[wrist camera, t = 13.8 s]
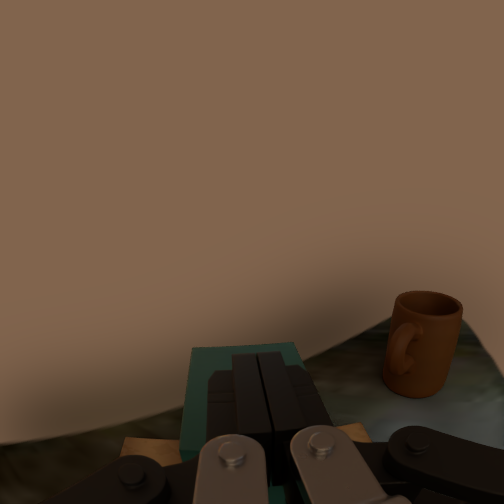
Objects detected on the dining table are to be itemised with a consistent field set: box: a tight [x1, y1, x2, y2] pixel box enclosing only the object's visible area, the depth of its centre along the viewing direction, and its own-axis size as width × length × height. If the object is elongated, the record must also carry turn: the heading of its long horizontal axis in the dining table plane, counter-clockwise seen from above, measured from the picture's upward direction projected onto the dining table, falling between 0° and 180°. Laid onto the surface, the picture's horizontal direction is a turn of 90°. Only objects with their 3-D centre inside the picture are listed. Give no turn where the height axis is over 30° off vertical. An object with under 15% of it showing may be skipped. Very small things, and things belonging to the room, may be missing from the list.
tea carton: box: [179, 342, 306, 504], centre depth 14 cm, size 6×11×8 cm
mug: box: [383, 291, 463, 398], centre depth 27 cm, size 12×8×9 cm, turn 129°
